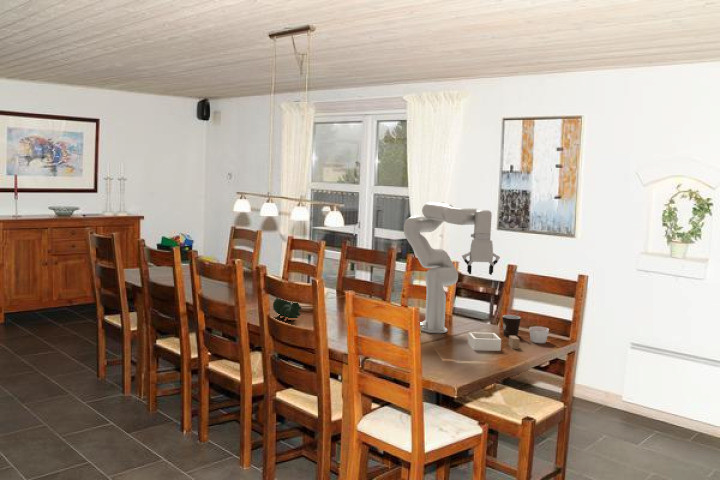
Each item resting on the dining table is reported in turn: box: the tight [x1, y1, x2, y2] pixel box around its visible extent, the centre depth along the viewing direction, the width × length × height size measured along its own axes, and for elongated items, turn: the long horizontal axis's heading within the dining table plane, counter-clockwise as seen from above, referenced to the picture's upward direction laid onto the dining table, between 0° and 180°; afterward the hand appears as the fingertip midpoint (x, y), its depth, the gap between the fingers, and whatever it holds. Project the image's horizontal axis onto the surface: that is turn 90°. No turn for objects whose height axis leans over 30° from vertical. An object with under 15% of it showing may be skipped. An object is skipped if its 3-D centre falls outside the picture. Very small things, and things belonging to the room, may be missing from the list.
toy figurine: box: [272, 297, 302, 318], centre depth 350 cm, size 9×19×25 cm
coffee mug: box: [502, 314, 521, 338], centre depth 331 cm, size 12×9×10 cm
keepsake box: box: [467, 331, 502, 352], centre depth 306 cm, size 12×12×6 cm
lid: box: [508, 336, 521, 350], centre depth 308 cm, size 12×12×6 cm
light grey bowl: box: [529, 325, 550, 344], centre depth 323 cm, size 9×9×6 cm
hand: (480, 274), depth 314 cm, fingers open, 9 cm apart
